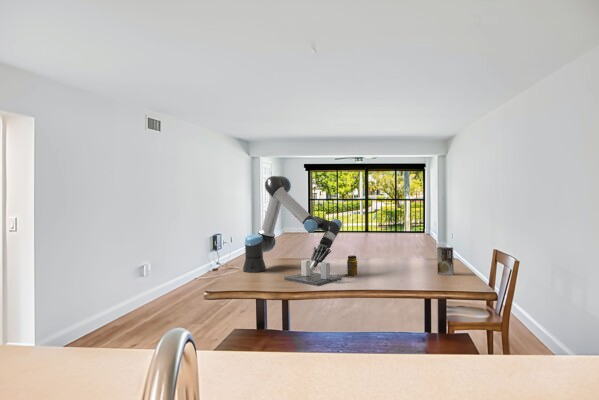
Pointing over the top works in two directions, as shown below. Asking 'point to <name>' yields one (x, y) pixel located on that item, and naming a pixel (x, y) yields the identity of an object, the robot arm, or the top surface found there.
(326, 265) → the block
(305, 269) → the block
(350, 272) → the condiment
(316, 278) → the dark grey flat board
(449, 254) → the coffee box
